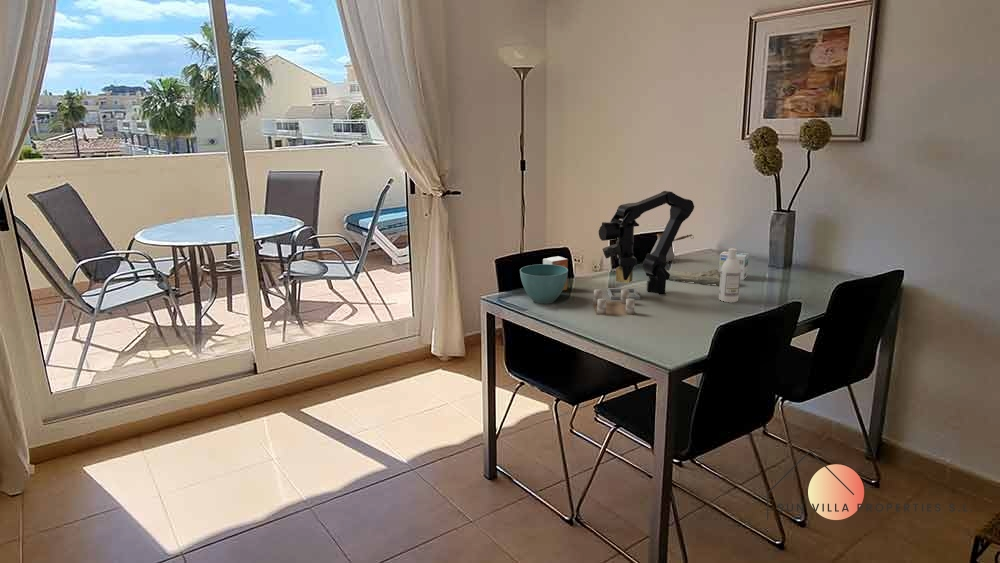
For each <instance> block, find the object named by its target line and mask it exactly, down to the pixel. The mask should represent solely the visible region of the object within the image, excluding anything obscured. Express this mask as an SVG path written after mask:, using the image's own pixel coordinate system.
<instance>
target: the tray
mask: <svg viewBox="0 0 1000 563" xmlns="http://www.w3.org/2000/svg"><path fill="white" fill-rule="evenodd" d="M622 289H623V288H607V290H606V292H607V294H608V296H609V298H610V300H612V301H618V300H619V301H621V295H613V294H615V293H616V294H617V293H620V294H621V290H622ZM625 289H628V290H629V294H630V293H633V294H634V295H629V298H631V299H635V301H637V300H638V301H639V300H641V295H640V294H639V292H638V291H637V289H636V288H626V287H625Z"/></svg>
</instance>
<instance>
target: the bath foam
mask: <svg viewBox="0 0 1000 563" xmlns="http://www.w3.org/2000/svg"><path fill="white" fill-rule="evenodd" d="M727 250H728V251H727V252H728V258H727V260H726V261H725V262H724V263H723V265H722V268H721V276H720V286H719V289H718V300H719V301H720V300H721V301H720V302H723V301H724V302H723V303H728V302H733V303H737V302H738V300H739V294H740V282H741V280H740V274H741V268H740V265H739V263H738V261H737V259H736V254H737V253H738V252H737V251H738V249H737V248H735V247H731V248H728V249H727Z"/></svg>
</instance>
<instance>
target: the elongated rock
mask: <svg viewBox="0 0 1000 563" xmlns="http://www.w3.org/2000/svg"><path fill="white" fill-rule="evenodd" d="M665 270H666V271H667V272H668V273H669V274H670V277H669V281H673V280H675V281H674V282H681V281H685V282H684V283H688V282H694V283H693V284H700V283H703V284H702V285H704V284H716V285H720V276H721V272H719V269H712V270H707V271H702V272H691V271H689V272H688V271H678V270H677V271H676V270H670V269H669V270H667V269H665Z"/></svg>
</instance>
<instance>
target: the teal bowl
mask: <svg viewBox="0 0 1000 563" xmlns="http://www.w3.org/2000/svg"><path fill="white" fill-rule="evenodd" d="M519 274H520V275H519V276H520V280H521V284H522V286H523V289H524V291H525V292H526V294H527V295H528V297H529V298H530V299H531V300H532V301H533V302H534V303H537V304H543V303H545V304H551V303H554V302H555V301H557V299H558V298H559V297H560V295H561V294H562V293H563V291H564V290H563V289H564V286H565V283H566V280H567V281H568V274H569V269H568V267H567V268H566V267H563V266H559V265H551V264H543V263H542V264H540V263H539V264H538V263H537V264H532V265H531V264H530V265H526V266H523V267H521V268H520V269H519Z"/></svg>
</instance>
